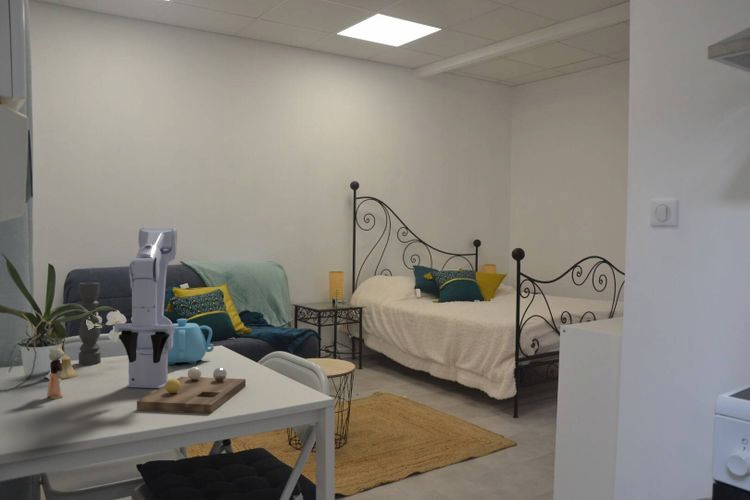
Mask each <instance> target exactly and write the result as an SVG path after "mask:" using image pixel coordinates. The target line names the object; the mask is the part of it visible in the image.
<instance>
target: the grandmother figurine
mask: <svg viewBox="0 0 750 500" xmlns="http://www.w3.org/2000/svg"><path fill="white" fill-rule="evenodd" d="M63 355H64V352H63V351H62V349H61V348H59V347H58V346H52V347H50V348H49V360H51V362H50V367H49V368H50V369H51V374H50V379H48V384H47V390H46V391H47V393H46V395H47V397H49V398H50V399H51V400H57V399H62V398H64V396H63V394H62V389H61V385H60V384H61V378H62V375H61V374H62V367H61V363H60V360H59V359H60V358H61V356H63Z"/></svg>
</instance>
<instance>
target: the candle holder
mask: <svg viewBox="0 0 750 500" xmlns="http://www.w3.org/2000/svg"><path fill="white" fill-rule="evenodd" d="M78 285H79V286H78V288H79V291H78V292H79V293H78V294H79V295H80V298H81V299H82V301H81V302H80V303H79V305H80V306H81V307H82V306H83V307H84V308H85V309H87V310H88V311H92V310H95V309H96V310H97V306H98V305H99V301H98V300H97V299H98V297H99V296H100V295H99V294H100V282H80V283H78ZM83 307H82V308H83ZM94 315H95V316H96V317H97V312H96V313H94ZM88 318H89V317H83V316H82V318H81V322H80V326H79V330H78V337H79V339H80V340H81V343H82V344H80V347H79V351H80V352H78V365H80V366H94V365H98V364H100V363H101V362H102V361H101V360H102V359H101V358H102V356H101V355H102V354H101V353H102V352H101V351H100V348H101V347H100V345H99V344H98V343H97V342H98V339H99V338H100V336H101V329H100V325H99V326H94V328H92V329H90V330H88V328H87V325H86V319H88ZM97 323H98V324H99V321H98V322H97ZM96 327H99V328H96Z"/></svg>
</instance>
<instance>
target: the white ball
mask: <svg viewBox="0 0 750 500" xmlns="http://www.w3.org/2000/svg"><path fill="white" fill-rule="evenodd" d="M201 376H202V370H201V368H199V367H197V366H192V367H190V368H189V369H188V372H187V377H189V378H190V379H191V380H197V379H199V378H200V377H201Z"/></svg>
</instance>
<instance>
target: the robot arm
mask: <svg viewBox="0 0 750 500" xmlns="http://www.w3.org/2000/svg"><path fill="white" fill-rule="evenodd" d="M177 244H178V232H177V229H176V227H144V226H142V227H141V228H140V229H139V230H138V246H139V249H138V251H137V254H136V256H135V257H134V258H133V259H131V260H130V261H129V266H128V276H129V281H130V284H129V285H130V289H131V322H130V323H129V322H127V323H125V322H124V323H123V322H121V323H119V322H118V323H115V324H114V333H121V334H118V336H119V337H118V339H119V340H120V342H121V343H122V345H123V347H124V348H125V352H126V355H127V359H128V384H127V385H126V387H127V388H145V389H160V388H162V387H164V386H165V384H166V382H167V381H168V380H170V379H171V378H170V379H168V376H169V375H168V374H169V372H168V366H169V365H168V350H171V348H172V347H173V333H174V332H175V325H173V324H174V323H173V322H172V321H171V319H169V318H168V317H167V316H165V313H164V311H165V298H166V287H167V285H166V283H167V270H168V266H169V263H170V262H172V261H173V260H175V259H176V256H177V246H178V245H177Z"/></svg>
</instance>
